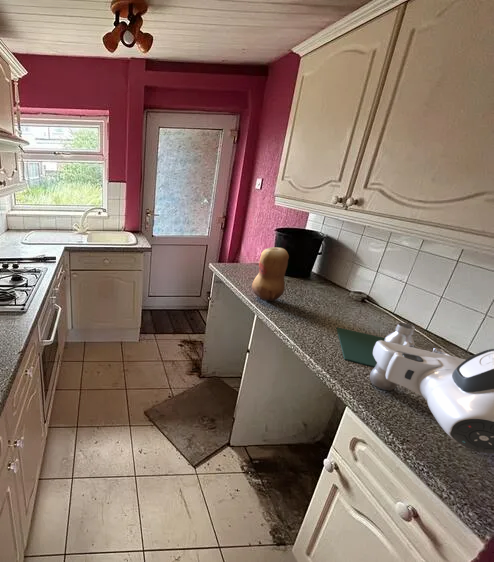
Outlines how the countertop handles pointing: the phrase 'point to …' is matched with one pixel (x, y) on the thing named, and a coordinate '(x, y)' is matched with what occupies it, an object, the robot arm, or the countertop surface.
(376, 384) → the plastic bottle
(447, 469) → the countertop surface
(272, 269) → the butternut squash
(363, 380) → the countertop surface
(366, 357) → the rubber mat
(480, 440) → the robot arm
